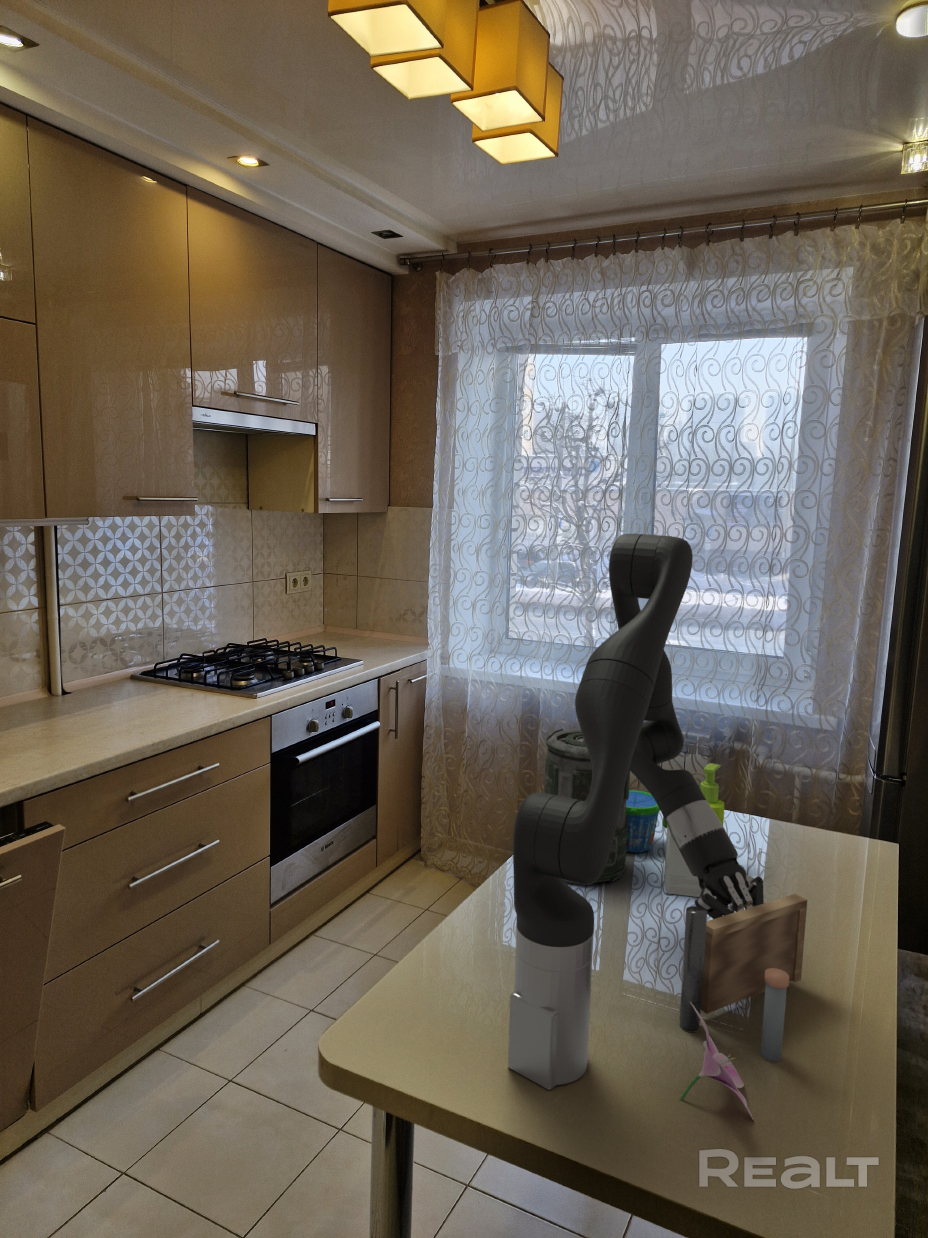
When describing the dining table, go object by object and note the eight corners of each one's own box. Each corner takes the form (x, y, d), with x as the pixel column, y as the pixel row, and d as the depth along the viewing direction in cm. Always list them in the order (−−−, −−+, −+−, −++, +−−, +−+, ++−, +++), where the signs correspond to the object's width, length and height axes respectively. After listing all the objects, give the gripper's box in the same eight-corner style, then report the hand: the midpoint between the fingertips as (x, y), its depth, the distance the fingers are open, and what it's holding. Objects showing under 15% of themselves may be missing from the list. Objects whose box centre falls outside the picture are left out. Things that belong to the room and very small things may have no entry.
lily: (733, 1168, 84) (781, 1090, 84) (637, 1086, 90) (681, 1013, 89) (743, 1127, 95) (785, 1058, 95) (656, 1056, 100) (696, 991, 100)
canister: (550, 846, 163) (555, 711, 160) (629, 858, 159) (636, 719, 155) (532, 879, 148) (538, 731, 145) (619, 893, 144) (627, 740, 140)
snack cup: (604, 859, 158) (606, 809, 157) (587, 838, 168) (589, 791, 167) (679, 855, 160) (682, 806, 159) (658, 835, 171) (661, 788, 170)
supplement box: (708, 899, 142) (712, 830, 141) (665, 894, 144) (669, 826, 142) (704, 880, 150) (708, 815, 148) (663, 876, 151) (667, 811, 149)
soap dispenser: (725, 864, 157) (731, 764, 154) (715, 877, 151) (722, 773, 149) (695, 856, 160) (701, 759, 158) (684, 869, 154) (690, 767, 152)
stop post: (778, 1066, 99) (784, 983, 97) (755, 1056, 101) (761, 975, 99) (786, 1055, 101) (792, 974, 100) (763, 1045, 103) (769, 965, 101)
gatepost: (694, 1035, 104) (702, 918, 102) (675, 1026, 106) (682, 911, 104) (702, 1025, 106) (710, 910, 104) (684, 1017, 108) (691, 904, 106)
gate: (707, 1016, 106) (713, 929, 105) (696, 1008, 108) (702, 922, 106) (801, 980, 115) (807, 899, 114) (789, 973, 117) (795, 893, 115)
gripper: (683, 835, 116) (747, 955, 108) (745, 819, 123) (809, 930, 115) (655, 856, 122) (713, 972, 113) (715, 839, 129) (774, 947, 120)
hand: (761, 951), depth 114 cm, fingers closed
